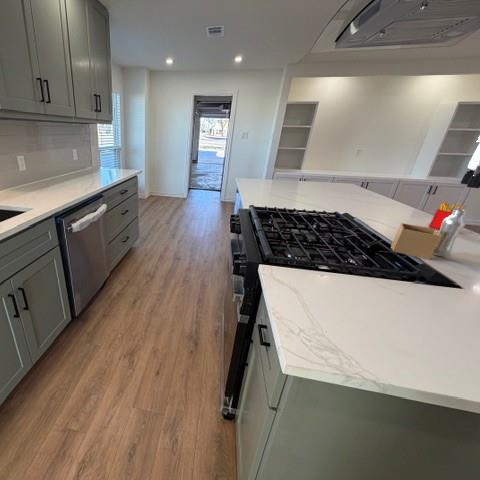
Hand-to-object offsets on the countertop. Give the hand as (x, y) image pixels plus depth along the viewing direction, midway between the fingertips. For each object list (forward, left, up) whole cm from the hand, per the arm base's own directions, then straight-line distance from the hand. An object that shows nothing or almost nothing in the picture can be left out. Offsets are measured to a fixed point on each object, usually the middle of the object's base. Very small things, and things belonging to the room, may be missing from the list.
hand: (469, 185), depth 98 cm
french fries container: (-9, -49, -30) cm, 58 cm away
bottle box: (+9, +9, -29) cm, 32 cm away
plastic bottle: (-1, +1, -30) cm, 30 cm away
